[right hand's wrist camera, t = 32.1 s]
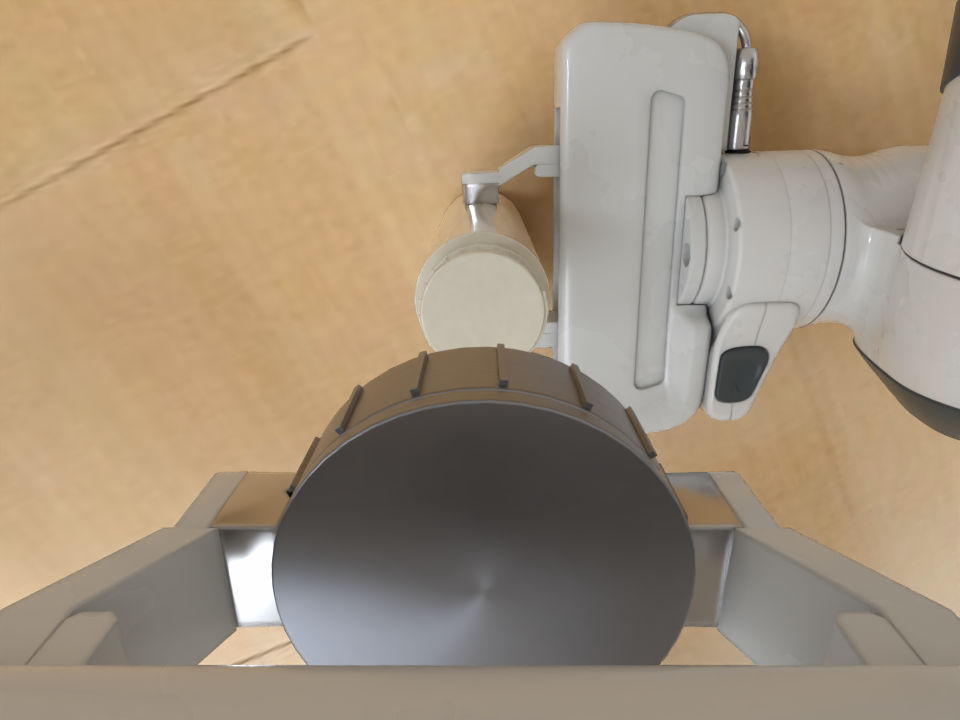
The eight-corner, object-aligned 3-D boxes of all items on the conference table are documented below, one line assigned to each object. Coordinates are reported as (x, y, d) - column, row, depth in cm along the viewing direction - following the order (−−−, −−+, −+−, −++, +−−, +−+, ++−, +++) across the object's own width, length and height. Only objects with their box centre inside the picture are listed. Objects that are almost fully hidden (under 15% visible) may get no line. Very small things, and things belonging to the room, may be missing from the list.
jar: (451, 280, 38) (429, 394, 22) (431, 199, 36) (392, 259, 20) (530, 263, 37) (566, 366, 21) (514, 181, 36) (541, 226, 20)
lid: (712, 565, 11) (760, 656, 9) (421, 684, 12) (410, 788, 10) (564, 274, 9) (586, 314, 7) (234, 447, 10) (178, 521, 8)
